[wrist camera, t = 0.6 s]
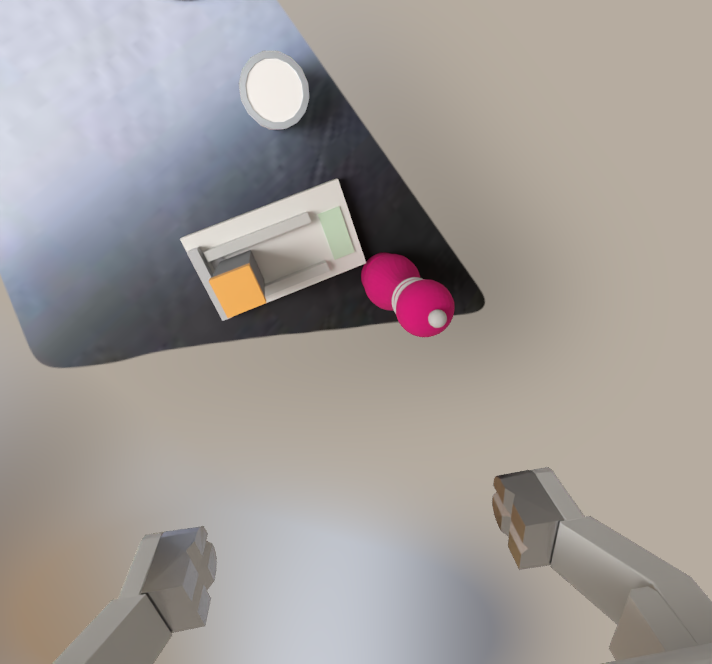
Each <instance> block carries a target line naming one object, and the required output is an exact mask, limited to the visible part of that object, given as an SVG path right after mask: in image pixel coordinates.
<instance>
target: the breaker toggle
mask: <svg viewBox="0 0 712 664" xmlns="http://www.w3.org/2000/svg"><path fill="white" fill-rule="evenodd" d="M209 283H210V285H211V287H212V289H213V291H214V293H215V295H216V297H217V298H218V300H219V302H220V304H221V306H222V308H223V310H224V312H225V314H226V316H227V318H230V317H233V316H235V315H238V314H240V313H243V312H245V311H248V310H250V309H253V308H255V307H258V306H260V305H263V304H265V303H266V298H265V284H264V278H263V275H262V273H261V271H260V269H259V267H258V264H257V262H256V260H255V258H254V256H253V253H252V251H251V250H249V251H246V252H243V253H241V254H238V255H236V256H233V257H231V258H228V259H225V260H223V261H220V262H219V264H218V266H217V268H216V270H215V272H214V274H213V276H212V278H210V279H209Z"/></svg>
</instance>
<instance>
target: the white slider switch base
mask: <svg viewBox="0 0 712 664" xmlns="http://www.w3.org/2000/svg"><path fill="white" fill-rule="evenodd" d="M180 240H181V242H182V244H183V246H184V248H185V249H186V251H187V254H188V256H189V258H190V260H191V262H192V264H193V266H194V268H195V269H196V271H197V273H198V275H199V277H200V279H201V281H202V283H203V285H204V287H205V288H206V290H207V292H208V294H209V296H210V298H211V300H212V302H213V304H214V306H215V307H216V309H217V311H218V313H219V315H220V317H221V319H222V321H224V320H226V319H229V318H227V316H226V314H225V312H224V310H223V308H222V306H221V304H220V302H219V300H218V298H217V297H216V295H215V293H214V291H213V289H212V287H211V285H210V283H209V279H210V278H212V276H213V274H214V272H215V270H216V268H217V266H218V264H219V262H220V261H223V260H225V259H228V258H231V257H233V256H236V255H238V254H241V253H243V252H246V251H249V250H251V251H252V253H253V256H254V258H255V260H256V262H257V264H258V267H259V269H260V271H261V273H262V275H263V278H264V284H265V298H266V303H268V302H270V301H273V300H275V299H278V298H280V297H283V296H285V295H288V294H290V293H293V292H295V291H298V290H300V289H303V288H305V287H308V286H310V285H313V284H315V283H318V282H320V281H323V280H325V279H328V278H330V277H333V276H335V275H338V274H340V273H343V272H345V271H348V270H350V269H353V268H355V267H358V266H360V265H363V264H365V263H366V261H365V258H364V255H363V252H362V249H361V246H360V243H359V240H358V237H357V234H356V231H355V228H354V225H353V222H352V219H351V216H350V213H349V210H348V207H347V204H346V201H345V198H344V195H343V192H342V189H341V186H340V183H339V180H338V179H333V180H331V181H328V182H325V183H323V184H320V185H317V186H315V187H312V188H310V189H307V190H304V191H302V192H299V193H296V194H294V195H291V196H289V197H286V198H283V199H281V200H278V201H275V202H273V203H270V204H268V205H265V206H262V207H260V208H257V209H254V210H252V211H249V212H247V213H244V214H241V215H239V216H236V217H233V218H231V219H228V220H226V221H223V222H220V223H218V224H215V225H212V226H210V227H207V228H205V229H202V230H199V231H197V232H194V233H191V234H189V235H186V236H184V237H182V238H181V239H180ZM230 318H231V317H230Z"/></svg>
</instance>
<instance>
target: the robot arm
mask: <svg viewBox="0 0 712 664" xmlns="http://www.w3.org/2000/svg"><path fill="white" fill-rule="evenodd" d="M494 487H495V489H496V491H497V492H496V493H495V494H494V495H493V498H492V506H493V511H494V515H495V518H496V521H497V524H498V526H499V528H500V530H501V531H502V532H503V533H505V534H506V535H507V536H509V540H508V547H509V549H510V552H511V554H512V556H513V558H514V560H515V562H516V564H517V566H518V568H519V570H520V569H527V568H534V567H541V566H547V565H551V568H552V569H554V570H555V571H556V572H557V573H558V574H559V575H561V576H562V577H563V578H564V579H565V580H566V581H567V582H569V583H570V584H571V585H572V586H573V587H574V588H575V589H577V590H578V591H579V592H580V593H581V594H582V595H584V596H585V597H586V598H587V599H588V600H589V601H591V602H592V603H593V604H594V605H595V606H596V607H597V608H599V609H600V610H601V611H602V612H603V613H604V614H606V615H607V616H608V617H609V618H610V619H611V620H612V621H614V622H615V623H616V624H617V627H616V630H615V633H614V635H613V638H612V640H611V643H610V646H609V649H610V651H611V653H612V655H613V656H614V658H615V660H616V661H613V662H608V663H602V664H712V601H711V600H710V599H709V598H708V597H707V595H706V594H705V593H704V592H703V591H702V589H701V588H700V587H699V586H698V585H697V583H696V582H695V581H694V580H693V579H692V578H691V577H690V576H688V575H687V574H685V573H684V572H682V571H680V570H679V569H677V568H675V567H673V566H672V565H670V564H669V563H667V562H665V561H664V560H662V559H660V558H659V557H657V556H655V555H654V554H652V553H651V552H649V551H647V550H645V549H644V548H642V547H641V546H639V545H637V544H636V543H634V542H632V541H631V540H629V539H627V538H626V537H624V536H623V535H621V534H619V533H618V532H616V531H614V530H613V529H611V528H609V527H608V526H606V525H604V524H603V523H601V522H599V521H598V520H596V519H594V518H593V517H591V516H589V517H585V516H584V515H583V513H582V512H581V510H580V509H579V508H578V506H577V505H576V503H575V502H574V500H573V499H572V497H571V496H570V495H569V493H568V492H567V490H566V489H565V488H564V486H563V485H562V483H561V482H560V481H559V479H558V478H557V476H556V475H555V473H554V472H553V471H552V469H550V468H549V467H545V468H540V469H534V470H526V471H520V472H515V473H510V474H504V475H499V476H496V477H495V478H494ZM206 539H207V531H206V530H205V528H204V526H202V527H195V528H188V529H181V530H173V531H166V532H160V533H154V534H148V535H145V536H144V538H143V539H142V540H141V542H140V544H139V546H138V549H137V551H136V554H135V556H134V559H133V562H132V564H131V567H130V569H129V572H128V574H127V577H126V579H125V582H124V584H123V587H122V590H121V592H120V595H119V597H118V599H114V600H111V602H110V603H109V604H108V605H107V606H106V607H105V608H104V609H103V610H102V611H101V612H100V613H99V614H98V616H96V617H95V618H94V620H93V621H92V622H91V623H90V624H89V625H88V626H87V627H86V628H85V629H84V630H83V631H82V632H81V633H80V634H79V636H78V637H77V638H76V639H75V640H74V641H73V642H72V643H71V644H70V645H69V646H68V647H67V648H66V649H65V650H64V651H63V652H62V654H61V655H60V656H59V657H58V658H57V659H56V660H55V661H54V662H53V663H52V664H153V663H154V662H155V661H156V659H157V658H158V656H159V654H160V653H161V651H162V650H163V648H164V647H165V645H166V644H167V642H168V641H169V639H170V638H171V636H172V633H174V632H179V631H184V630H188V629H193V628H198V627H202V626H205V625H206V620H207V615H208V610H209V605H210V600H211V598H210V596H209V594H208V592H207V590H208V588H209V587H210V586H211V584H212V583H213V582H214V580H215V574H216V559H217V558H216V552H215V549H214V546H213V544H212V543H210V542H208V541H206Z"/></svg>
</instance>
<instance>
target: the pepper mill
mask: <svg viewBox="0 0 712 664" xmlns="http://www.w3.org/2000/svg"><path fill="white" fill-rule="evenodd" d="M361 279H362V283H363V286H364V288H365V291H366V294H367V296H368V297H369V299H370V300H371V301H372V302H373V303H374V304H375V305H377V306H378V307H380V308H382V309H385V310H394V312H395V313H396V315H397V318H398V321H399V323H400V324H401V326H402V327H403V328H404V329H405V330H406V331H407V332H409V333H411V334H412V335H415V336H419V337H430V336H434V335H437V334H439V333H440V332H442V331H443V330H445V329H446V327H447V326H448V325H449V324H450V322H451V320H452V318H453V314H454V301H453V298H452V296H451V294H450V292H449V291H448V290H447V289H446V288H445V287H444V286H443V285H442V284H440V283H439V282H436V281H433V280H426V279H422V278H420V275H419V272H418V269H417V268H416V266H415V265H414V264H413V263H412V262H411V261H410V260H409V259H408V258H406V257H404V256H401V255H397V254H390V253H379V254H376V255H374V256H372V257H371V258H369V259H368V260H367V262H366V263H365V265H364V266H363V269H362V274H361Z"/></svg>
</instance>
